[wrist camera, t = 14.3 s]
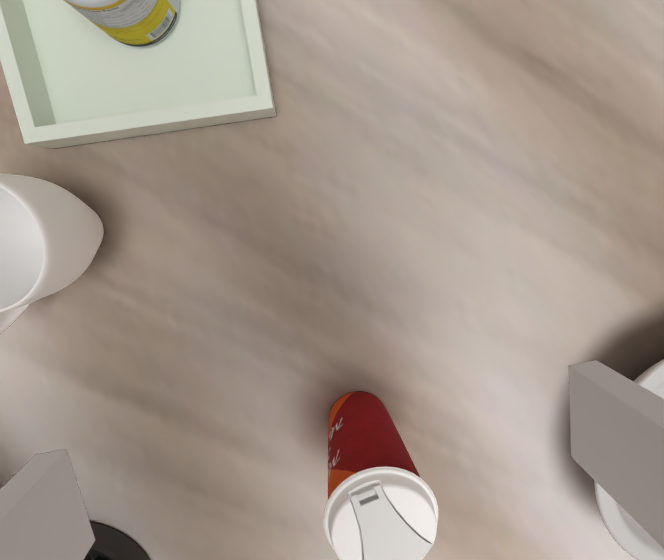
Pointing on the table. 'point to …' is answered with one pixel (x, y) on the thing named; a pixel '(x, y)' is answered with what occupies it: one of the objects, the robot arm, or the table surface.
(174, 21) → the pill bottle
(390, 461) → the paper cup
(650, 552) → the soup bowl
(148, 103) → the tray
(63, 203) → the mug
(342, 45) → the table surface
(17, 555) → the robot arm
